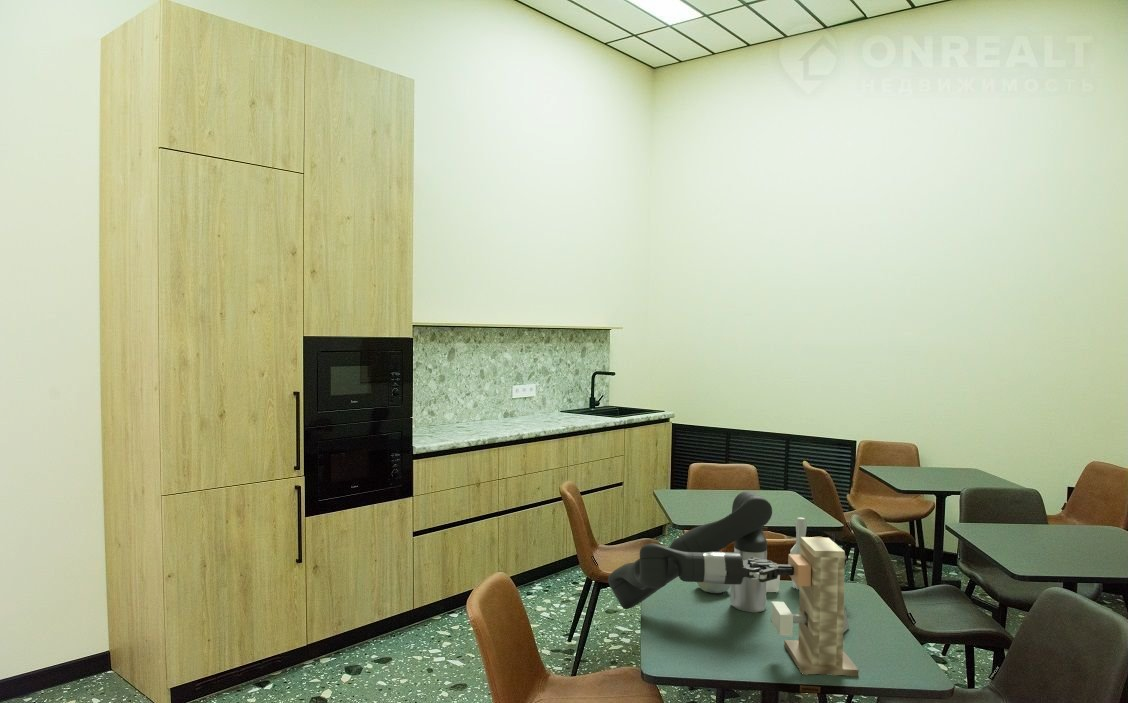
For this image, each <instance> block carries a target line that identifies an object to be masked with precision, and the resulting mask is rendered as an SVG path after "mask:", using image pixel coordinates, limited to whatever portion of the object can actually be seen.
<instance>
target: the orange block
mask: <svg viewBox="0 0 1128 703" xmlns="http://www.w3.org/2000/svg"><path fill="white" fill-rule="evenodd" d="M787 562H788V563H787V565H792V566H793V567H794V575H792V576H790V575H788V576H789V577H790V578H791V580H792V579H793V581H794V582H795V583H796V584H797V586H811V565H810V564H809V563H808V562H807V561H806V560H805V559H804V558H803V556H802V555H801V554H790V553H788V558H787Z"/></svg>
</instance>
